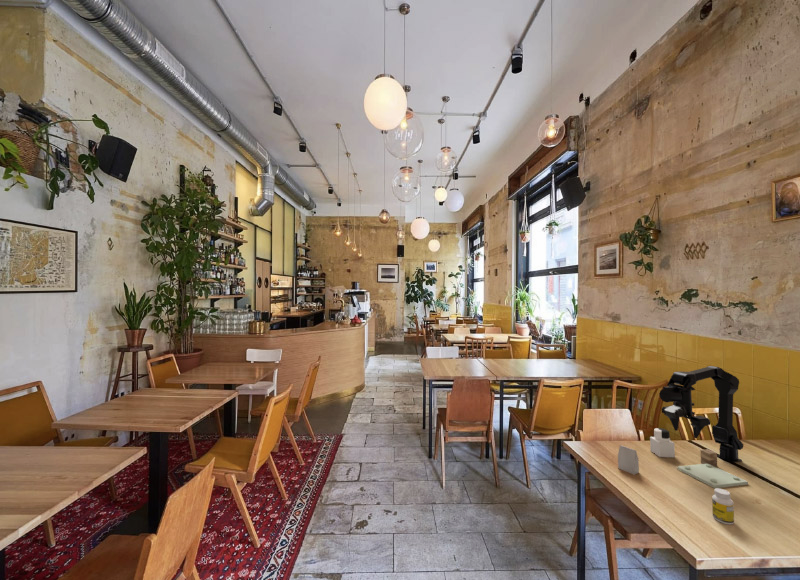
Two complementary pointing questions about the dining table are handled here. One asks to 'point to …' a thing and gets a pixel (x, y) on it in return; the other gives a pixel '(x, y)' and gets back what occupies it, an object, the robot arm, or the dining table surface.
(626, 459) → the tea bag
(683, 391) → the robot arm
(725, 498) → the supplement bottle
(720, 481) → the baseplate
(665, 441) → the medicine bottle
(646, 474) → the dining table surface
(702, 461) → the brown rectangular block
